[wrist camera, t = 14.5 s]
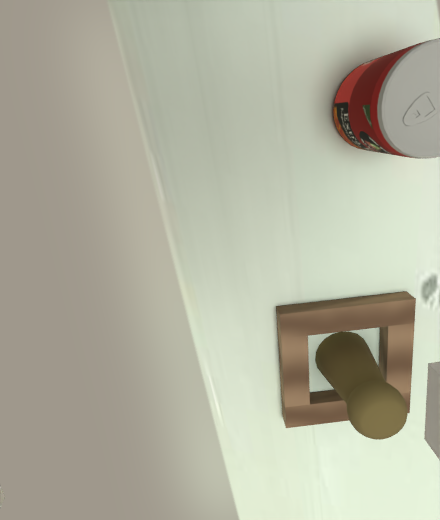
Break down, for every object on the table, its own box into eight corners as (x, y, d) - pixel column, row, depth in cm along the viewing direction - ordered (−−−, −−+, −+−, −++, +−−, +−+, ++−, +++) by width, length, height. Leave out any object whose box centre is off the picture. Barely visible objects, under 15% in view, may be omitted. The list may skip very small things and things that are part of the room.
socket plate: (276, 306, 45) (279, 314, 43) (406, 291, 45) (415, 298, 43) (282, 416, 49) (286, 428, 47) (401, 401, 49) (409, 412, 47)
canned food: (313, 116, 39) (358, 114, 28) (371, 39, 37) (441, 7, 27) (373, 166, 41) (435, 182, 30) (431, 95, 39) (519, 85, 28)
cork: (349, 386, 48) (393, 459, 38) (305, 366, 47) (337, 436, 37) (379, 344, 47) (432, 408, 36) (334, 323, 46) (376, 382, 35)
